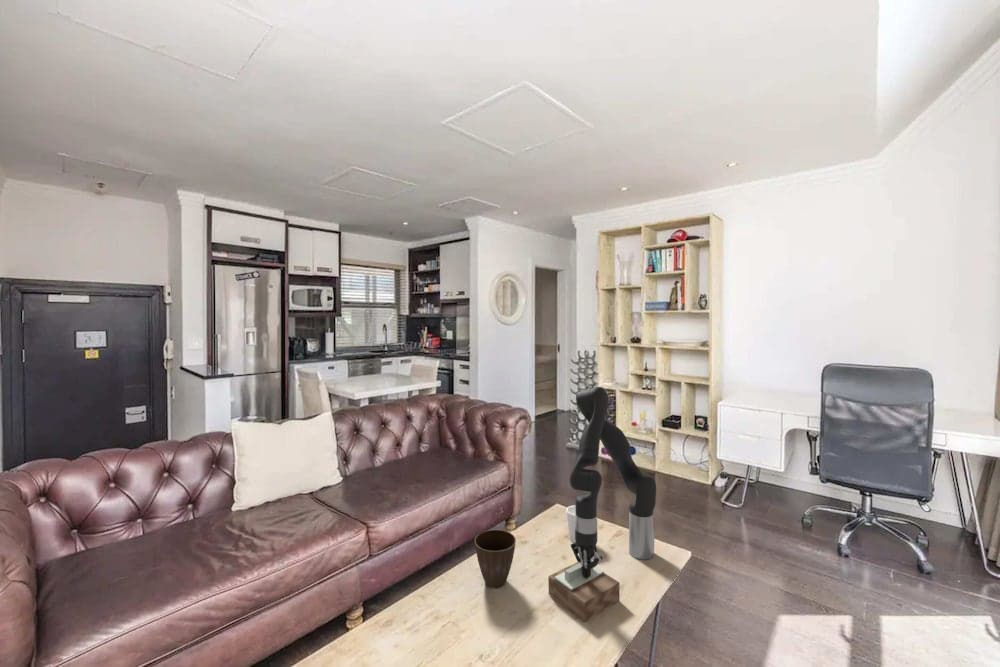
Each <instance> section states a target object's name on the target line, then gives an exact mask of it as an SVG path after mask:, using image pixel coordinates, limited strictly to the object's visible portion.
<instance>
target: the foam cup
mask: <svg viewBox="0 0 1000 667" xmlns="http://www.w3.org/2000/svg"><path fill="white" fill-rule="evenodd" d="M575 507H576V506H575V505H569V506H567V508H566V509H565V516H566V523H567V528H568V529H567V530H568V535H569V541H570V542H571V543H572V544H573V543H575V542H576V541H575V515H576V508H575Z"/></svg>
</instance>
